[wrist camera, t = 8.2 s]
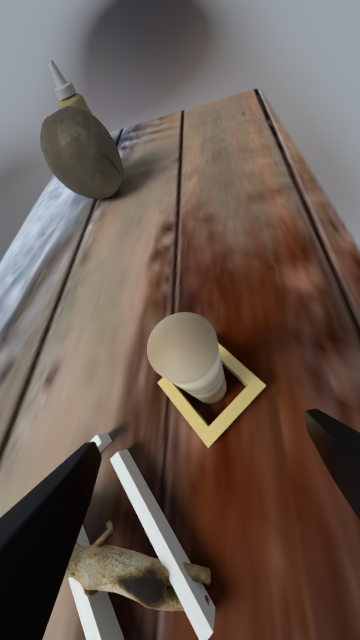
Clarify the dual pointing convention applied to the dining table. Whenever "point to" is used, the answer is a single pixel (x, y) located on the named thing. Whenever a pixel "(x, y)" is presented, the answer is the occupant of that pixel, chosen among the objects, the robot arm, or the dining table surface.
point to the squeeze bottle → (66, 91)
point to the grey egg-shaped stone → (81, 153)
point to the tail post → (188, 356)
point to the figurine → (128, 573)
